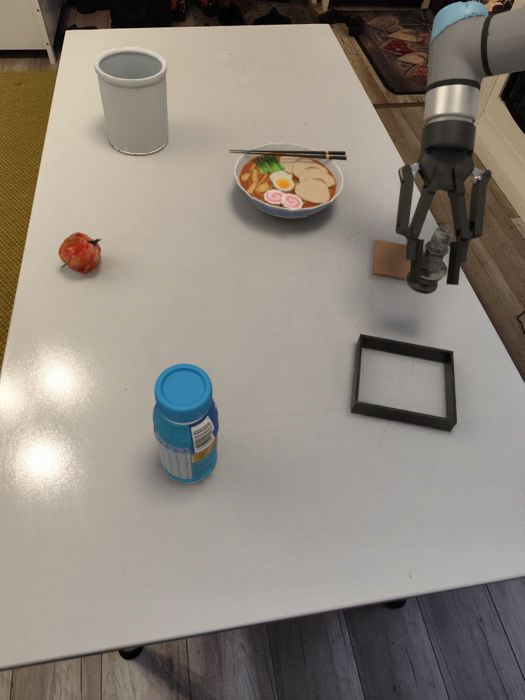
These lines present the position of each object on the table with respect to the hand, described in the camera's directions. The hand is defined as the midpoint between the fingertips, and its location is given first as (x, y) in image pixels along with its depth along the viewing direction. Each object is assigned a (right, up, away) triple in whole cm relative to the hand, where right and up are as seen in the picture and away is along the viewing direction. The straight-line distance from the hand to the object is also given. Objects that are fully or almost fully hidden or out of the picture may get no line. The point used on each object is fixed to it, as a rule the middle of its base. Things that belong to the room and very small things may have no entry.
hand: (433, 283), depth 80 cm
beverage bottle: (-37, -26, -4) cm, 46 cm away
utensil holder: (-55, +39, +43) cm, 80 cm away
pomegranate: (-60, +5, +17) cm, 62 cm away
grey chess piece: (0, +1, +5) cm, 5 cm away
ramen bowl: (-21, +22, +33) cm, 45 cm away
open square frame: (-3, -16, +7) cm, 18 cm away
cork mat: (+1, +8, +25) cm, 26 cm away
